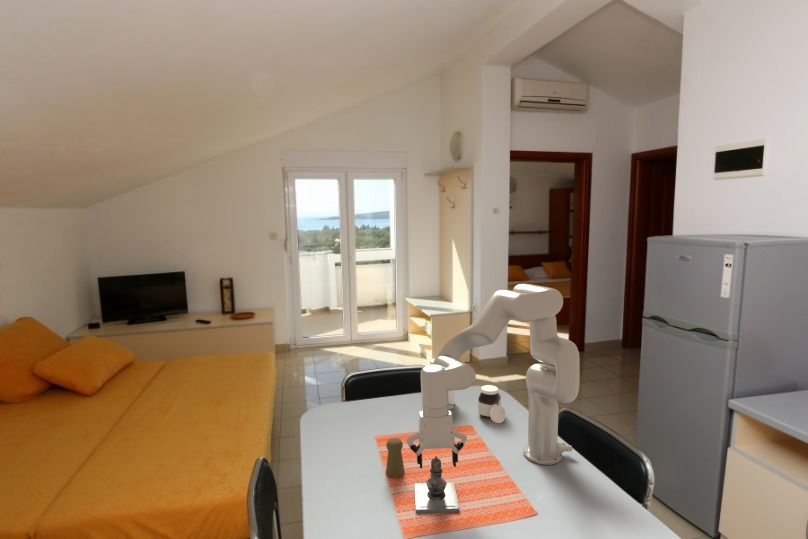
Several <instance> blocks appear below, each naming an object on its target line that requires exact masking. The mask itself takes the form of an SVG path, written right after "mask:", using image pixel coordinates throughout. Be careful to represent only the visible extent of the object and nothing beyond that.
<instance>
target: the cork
mask: <svg viewBox="0 0 808 539" xmlns="http://www.w3.org/2000/svg"><path fill="white" fill-rule="evenodd" d="M403 445H404V444H403V441H402V439H400V438H398V437H390V438H389V439H388V440H387V441H386V446H385V447H386V449H387V460H386V468H385V475H387V476H388V477H390V478H393V479H395V478H400V477H402V476H403V475H405V466H404V459H403V453H402V449H403Z"/></svg>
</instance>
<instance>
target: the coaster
mask: <svg viewBox="0 0 808 539" xmlns="http://www.w3.org/2000/svg"><path fill="white" fill-rule="evenodd" d="M455 486H456V485H455V482H446V487H445V490H444V492H445V494H446V496H445V498H444V499H442V500H438V501H435V500H432V499H430V498H429V497H428V496H427V493H428V492H429V490H428V487H427V485H426V482H425V483H414V498H415V513H416V514H421V513H422V514H424V513H427V514H429V513H431V514H432V513H459V512H460V506H459V501H458V496H457V490H456V487H455Z"/></svg>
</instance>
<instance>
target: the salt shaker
mask: <svg viewBox="0 0 808 539" xmlns="http://www.w3.org/2000/svg"><path fill="white" fill-rule="evenodd" d="M430 464H431V465H430V469H429V473H430V477H429V479H428V480H426V482H425V483H426V485H427V487H428V490H429V492H428V493H427V496H428V497H429V498H430V499H432V500H435V501H438V500H442V499H444V498H445V496H446V494H445V492H444V490H445V487H446V483H447V481H446V480H445V479H444V478H443V477H442V473H443V469H442V461H441V459H440V458H438V456H437V455H435V456H434V458H432V459H431V461H430Z"/></svg>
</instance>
